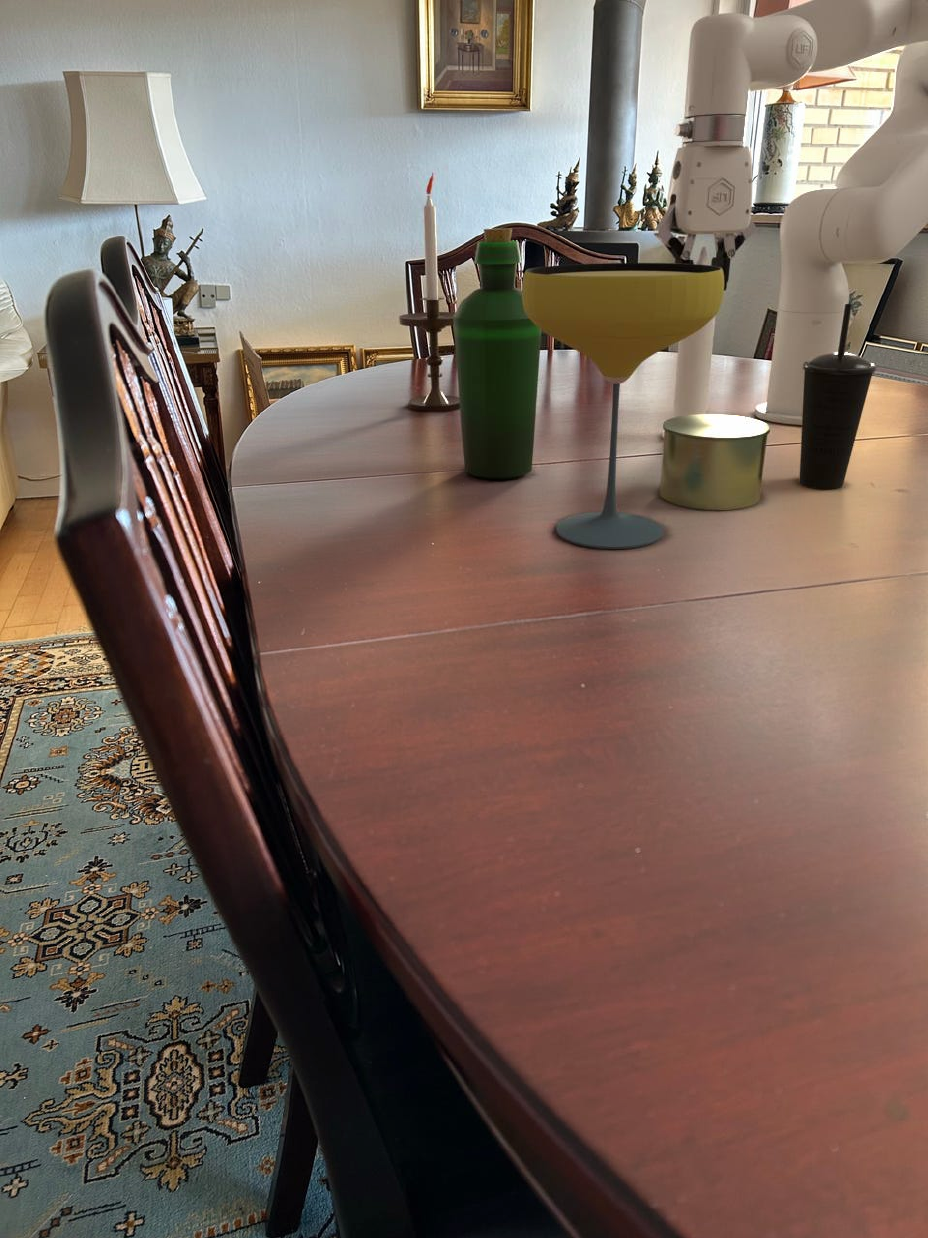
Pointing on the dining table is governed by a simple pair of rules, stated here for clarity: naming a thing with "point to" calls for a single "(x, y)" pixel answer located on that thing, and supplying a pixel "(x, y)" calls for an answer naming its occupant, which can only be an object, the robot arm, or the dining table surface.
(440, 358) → the candlestick
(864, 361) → the drinking cup
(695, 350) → the candle
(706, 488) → the tin
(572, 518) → the cocktail glass
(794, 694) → the dining table surface
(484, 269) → the bottle
